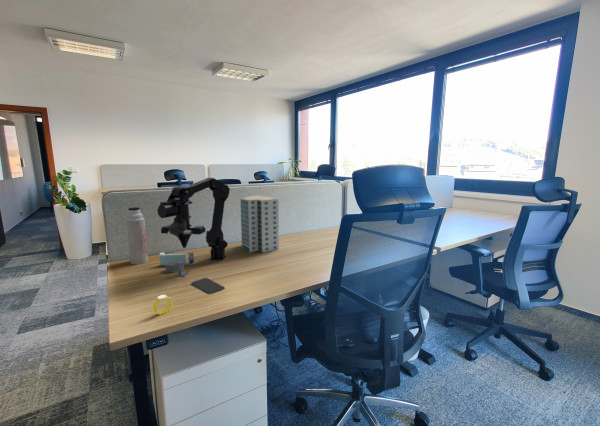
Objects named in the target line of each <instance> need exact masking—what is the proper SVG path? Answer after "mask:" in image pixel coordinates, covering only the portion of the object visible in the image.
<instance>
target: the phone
mask: <svg viewBox="0 0 600 426" xmlns="http://www.w3.org/2000/svg"><path fill="white" fill-rule="evenodd" d="M191 285H193V286H194V287H195V288H197V289H199V290H201V291H203V292H204V293H206V294H208V295H212V294H215V293H218V292H222V291H223V290H225V289H226V288H225V286H224V285H222V284H219V283H217V282H215V281H214V280H211V279H210V278H208V277H203V278H201V279H196V280H195V281H192V282H191Z"/></svg>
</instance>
